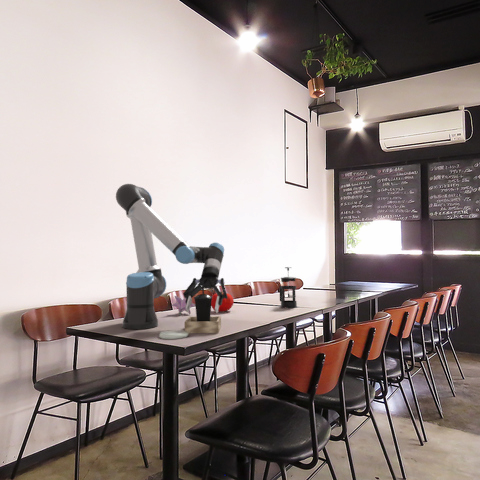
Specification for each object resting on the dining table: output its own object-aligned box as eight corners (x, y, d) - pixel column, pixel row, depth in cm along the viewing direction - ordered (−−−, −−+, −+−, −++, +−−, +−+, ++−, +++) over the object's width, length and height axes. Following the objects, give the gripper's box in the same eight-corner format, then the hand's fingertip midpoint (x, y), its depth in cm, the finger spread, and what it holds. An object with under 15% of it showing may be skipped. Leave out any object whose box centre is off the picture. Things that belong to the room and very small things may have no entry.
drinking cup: (203, 327, 177) (202, 280, 178) (216, 329, 172) (216, 281, 173) (190, 330, 171) (190, 281, 172) (203, 332, 167) (203, 282, 167)
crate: (184, 333, 165) (184, 321, 165) (189, 327, 179) (189, 316, 179) (218, 332, 165) (218, 321, 165) (221, 326, 179) (220, 316, 179)
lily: (198, 316, 214) (199, 299, 219) (181, 310, 206) (182, 292, 211) (182, 322, 221) (183, 305, 226) (165, 315, 213) (167, 298, 218)
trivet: (156, 339, 154) (156, 336, 154) (162, 333, 165) (162, 330, 165) (185, 339, 154) (185, 335, 154) (190, 333, 165) (190, 330, 165)
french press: (301, 307, 238) (300, 267, 238) (290, 308, 232) (289, 267, 232) (286, 305, 247) (285, 266, 247) (275, 306, 241) (274, 267, 241)
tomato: (212, 310, 231) (212, 291, 231) (234, 309, 231) (234, 290, 231) (209, 313, 218) (209, 293, 218) (232, 313, 217) (232, 293, 218)
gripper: (238, 276, 185) (231, 316, 170) (187, 276, 190) (176, 315, 175) (236, 265, 180) (228, 305, 165) (183, 265, 185) (171, 304, 170)
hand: (201, 310), depth 170 cm, fingers open, 12 cm apart
